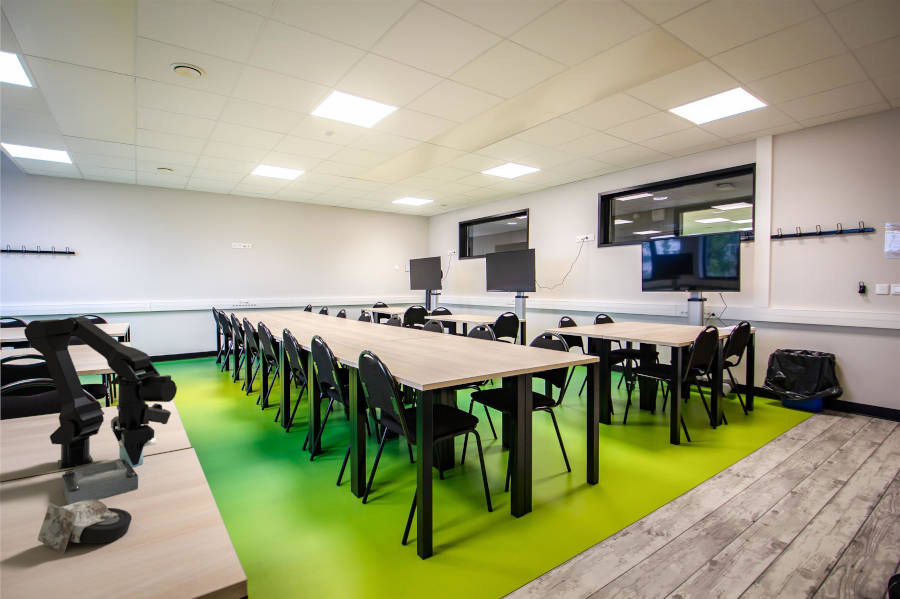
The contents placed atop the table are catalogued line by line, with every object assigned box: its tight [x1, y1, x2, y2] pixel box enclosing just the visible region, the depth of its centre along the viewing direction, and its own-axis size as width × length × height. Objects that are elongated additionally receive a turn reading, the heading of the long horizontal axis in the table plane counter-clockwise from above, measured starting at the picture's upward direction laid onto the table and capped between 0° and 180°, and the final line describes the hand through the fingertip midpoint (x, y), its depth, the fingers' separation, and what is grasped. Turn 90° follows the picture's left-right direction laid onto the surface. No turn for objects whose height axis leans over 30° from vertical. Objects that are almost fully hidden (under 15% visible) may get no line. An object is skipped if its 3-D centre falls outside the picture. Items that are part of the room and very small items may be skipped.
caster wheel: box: [37, 499, 133, 554], centre depth 78 cm, size 7×11×10 cm
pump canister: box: [118, 437, 157, 468], centre depth 113 cm, size 5×8×7 cm
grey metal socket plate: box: [61, 458, 139, 505], centre depth 98 cm, size 13×12×4 cm
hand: (131, 459), depth 112 cm, fingers open, 9 cm apart
